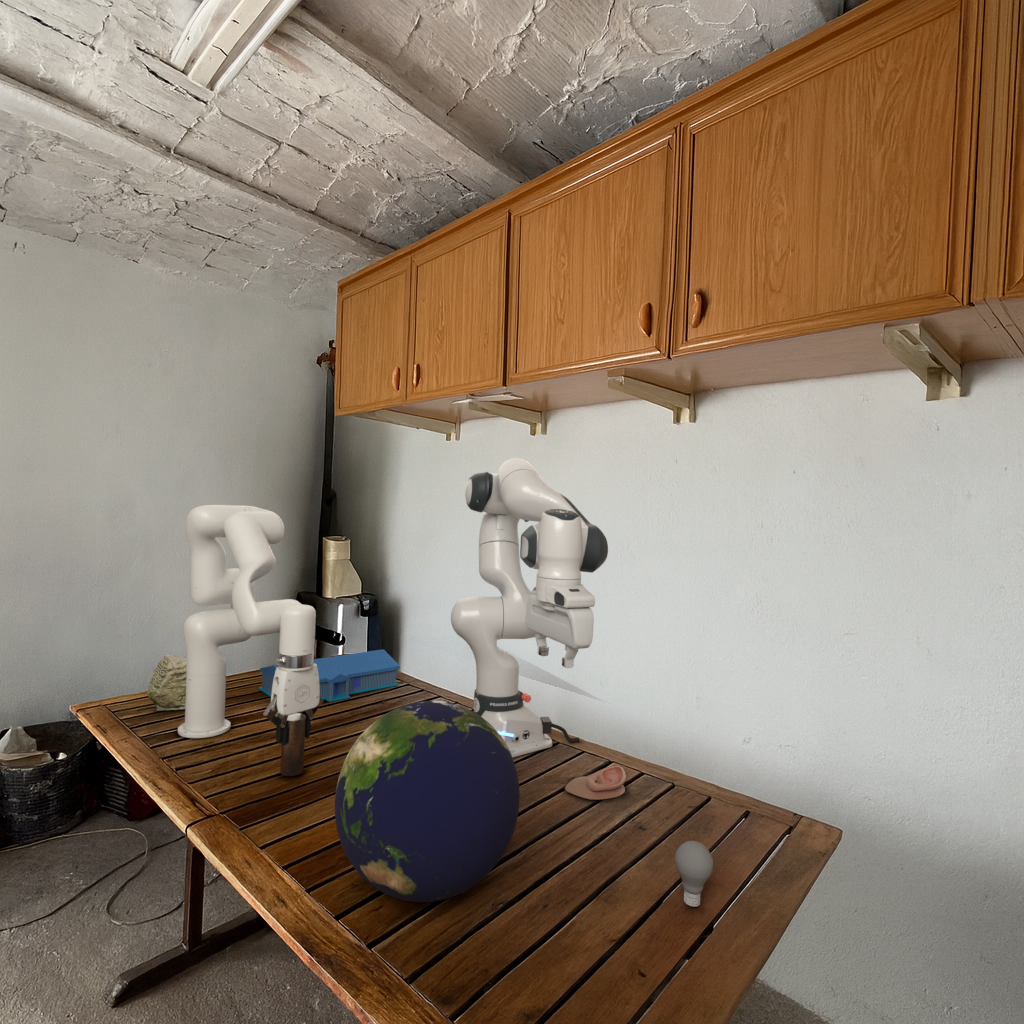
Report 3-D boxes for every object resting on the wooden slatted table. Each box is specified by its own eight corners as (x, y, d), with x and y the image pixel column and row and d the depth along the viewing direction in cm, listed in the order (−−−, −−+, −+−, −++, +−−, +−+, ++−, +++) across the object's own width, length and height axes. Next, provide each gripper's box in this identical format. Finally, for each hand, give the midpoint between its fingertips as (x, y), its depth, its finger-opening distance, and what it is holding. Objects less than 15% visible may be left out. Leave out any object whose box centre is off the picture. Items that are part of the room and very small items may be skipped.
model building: (289, 709, 186) (291, 675, 185) (258, 688, 204) (259, 657, 204) (403, 687, 212) (405, 657, 212) (366, 670, 230) (368, 643, 230)
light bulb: (667, 892, 105) (670, 833, 105) (702, 892, 106) (705, 833, 106) (680, 916, 99) (683, 853, 99) (717, 916, 100) (720, 853, 100)
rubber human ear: (563, 778, 138) (569, 757, 150) (563, 796, 138) (569, 774, 150) (625, 786, 136) (626, 764, 147) (624, 804, 136) (625, 781, 147)
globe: (289, 913, 96) (297, 717, 96) (396, 823, 124) (403, 671, 123) (466, 976, 85) (475, 755, 84) (540, 862, 113) (548, 695, 112)
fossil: (144, 707, 182) (145, 655, 182) (212, 696, 194) (213, 647, 194) (151, 716, 175) (153, 662, 175) (221, 703, 188) (223, 653, 188)
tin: (292, 778, 140) (294, 722, 140) (275, 772, 142) (277, 717, 142) (308, 769, 145) (310, 715, 144) (291, 764, 147) (293, 711, 147)
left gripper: (271, 670, 134) (267, 755, 134) (338, 657, 147) (334, 734, 148) (252, 663, 138) (248, 745, 139) (318, 650, 152) (315, 725, 152)
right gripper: (519, 584, 133) (516, 650, 133) (571, 600, 115) (568, 676, 115) (545, 584, 136) (542, 648, 136) (600, 599, 118) (597, 673, 118)
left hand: (293, 739), depth 143 cm, fingers open, 5 cm apart
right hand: (554, 661), depth 126 cm, fingers open, 8 cm apart
